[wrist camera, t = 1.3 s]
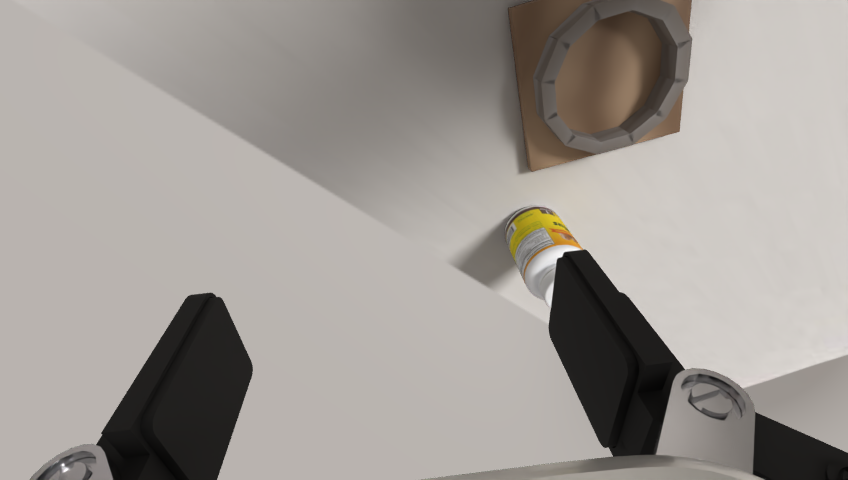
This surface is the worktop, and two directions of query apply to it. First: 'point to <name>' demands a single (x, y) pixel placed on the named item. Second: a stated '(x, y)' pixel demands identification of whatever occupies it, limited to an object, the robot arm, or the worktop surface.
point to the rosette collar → (598, 74)
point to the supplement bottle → (538, 247)
